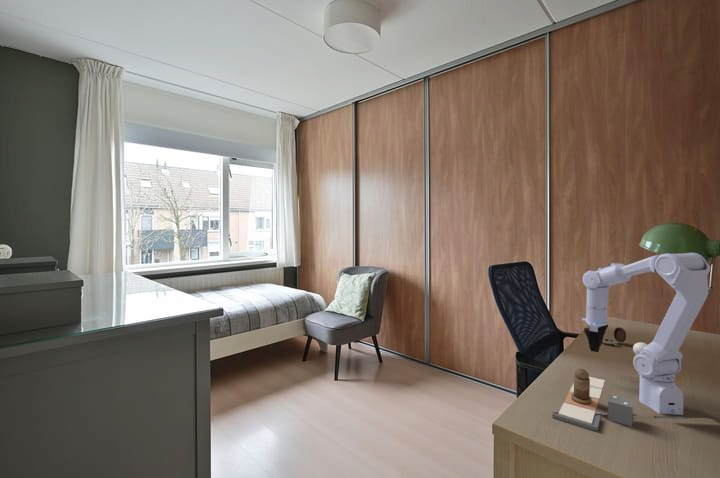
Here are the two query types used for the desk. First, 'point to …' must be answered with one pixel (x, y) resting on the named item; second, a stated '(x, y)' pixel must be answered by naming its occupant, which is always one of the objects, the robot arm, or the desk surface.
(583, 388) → the pawn
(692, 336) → the desk surface
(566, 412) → the board
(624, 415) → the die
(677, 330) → the robot arm
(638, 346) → the seamed sphere
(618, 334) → the compass
